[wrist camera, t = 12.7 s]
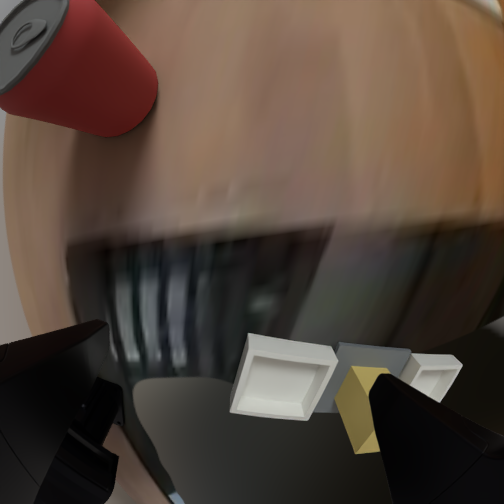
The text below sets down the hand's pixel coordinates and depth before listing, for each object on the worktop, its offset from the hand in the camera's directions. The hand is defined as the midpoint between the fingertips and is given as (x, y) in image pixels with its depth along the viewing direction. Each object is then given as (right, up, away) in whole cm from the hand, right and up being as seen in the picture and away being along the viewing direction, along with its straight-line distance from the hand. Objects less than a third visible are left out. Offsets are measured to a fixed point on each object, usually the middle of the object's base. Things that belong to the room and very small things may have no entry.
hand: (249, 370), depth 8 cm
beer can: (-10, +15, +9) cm, 20 cm away
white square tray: (+18, -10, +15) cm, 26 cm away
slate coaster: (+10, -9, +15) cm, 20 cm away
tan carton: (+10, -9, +14) cm, 19 cm away
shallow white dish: (+2, -7, +14) cm, 16 cm away
